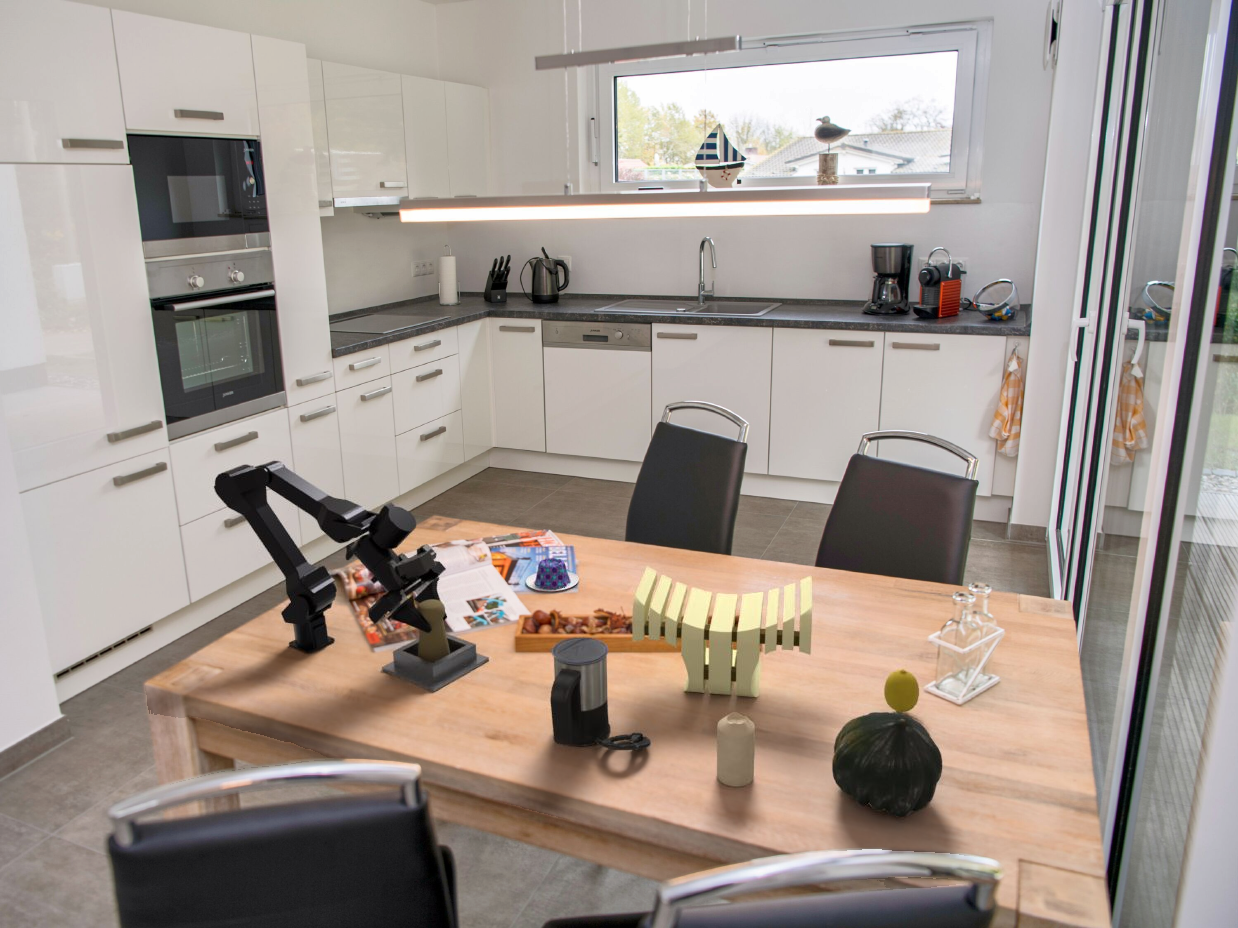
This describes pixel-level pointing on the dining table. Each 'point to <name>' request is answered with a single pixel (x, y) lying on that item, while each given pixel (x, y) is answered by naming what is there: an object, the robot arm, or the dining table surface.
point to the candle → (735, 750)
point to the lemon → (901, 691)
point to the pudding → (552, 576)
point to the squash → (887, 762)
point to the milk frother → (584, 697)
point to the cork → (433, 632)
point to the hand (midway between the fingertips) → (438, 625)
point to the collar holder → (435, 664)
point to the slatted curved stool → (721, 631)
